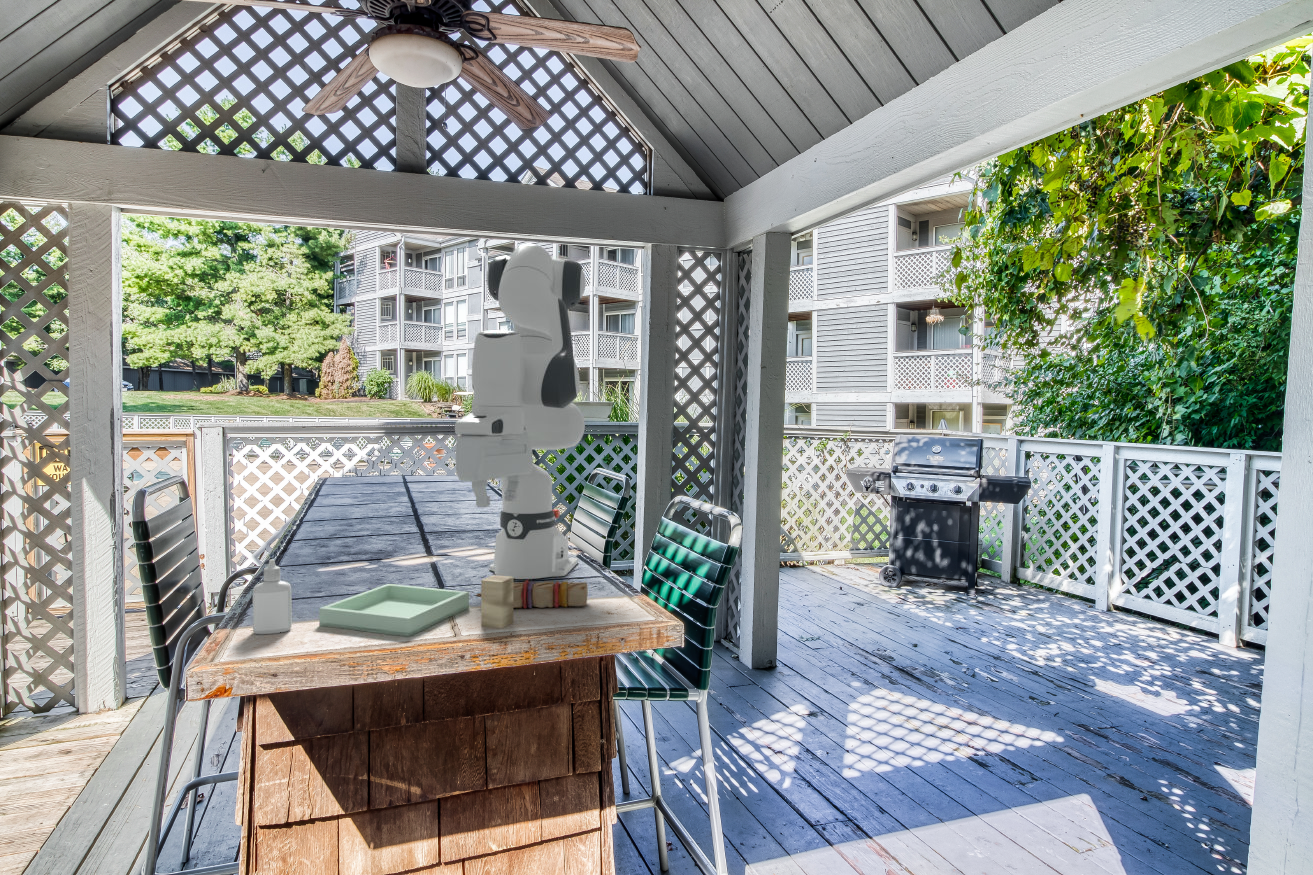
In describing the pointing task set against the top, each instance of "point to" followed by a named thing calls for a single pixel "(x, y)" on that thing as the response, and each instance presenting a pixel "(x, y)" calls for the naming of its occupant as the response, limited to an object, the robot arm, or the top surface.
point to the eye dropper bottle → (272, 603)
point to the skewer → (548, 594)
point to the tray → (394, 609)
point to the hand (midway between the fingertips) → (497, 503)
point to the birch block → (496, 601)
